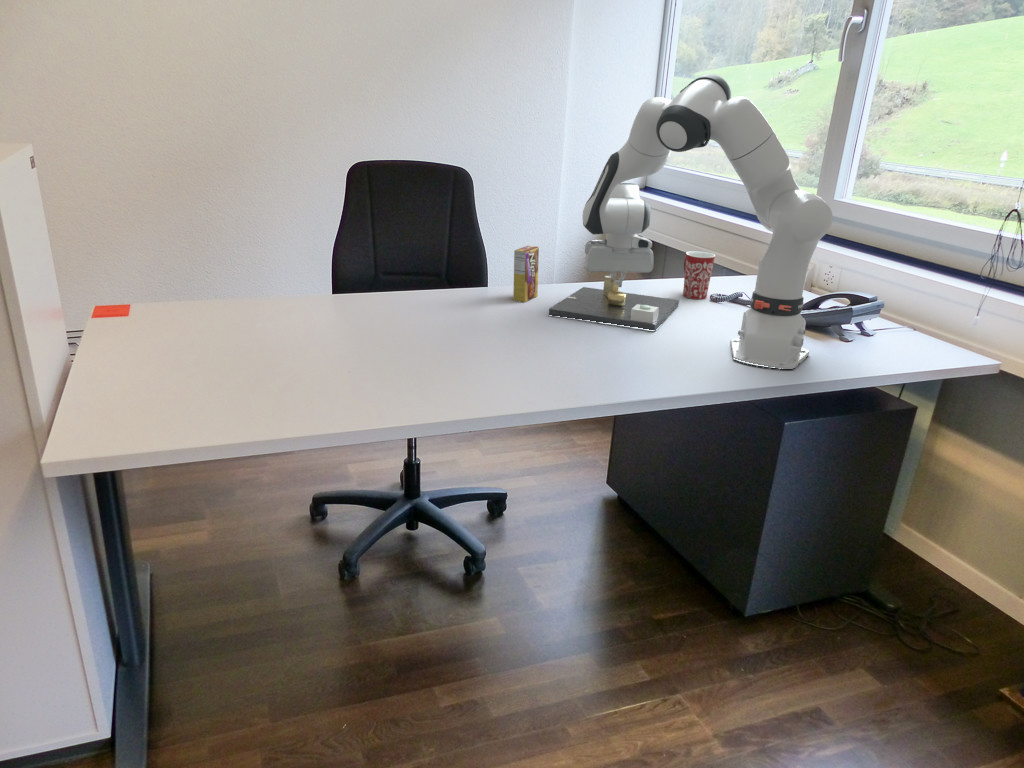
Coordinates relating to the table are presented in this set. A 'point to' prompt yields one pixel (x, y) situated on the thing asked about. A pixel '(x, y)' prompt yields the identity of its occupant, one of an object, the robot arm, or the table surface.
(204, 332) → the table surface
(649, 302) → the base plate
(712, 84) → the robot arm
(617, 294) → the brass lever knob
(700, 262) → the mug
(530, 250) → the candy box
